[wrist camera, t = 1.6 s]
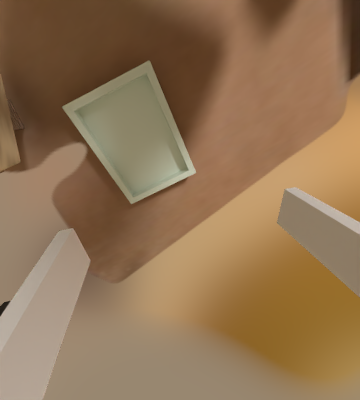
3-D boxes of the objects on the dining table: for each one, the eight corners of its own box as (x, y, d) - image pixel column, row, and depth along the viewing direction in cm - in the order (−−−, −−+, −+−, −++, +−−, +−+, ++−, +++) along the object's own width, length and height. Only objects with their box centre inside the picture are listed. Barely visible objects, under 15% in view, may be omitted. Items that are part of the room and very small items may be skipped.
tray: (69, 106, 25) (61, 106, 23) (149, 64, 24) (149, 59, 22) (132, 197, 33) (131, 204, 31) (192, 168, 33) (196, 172, 30)
